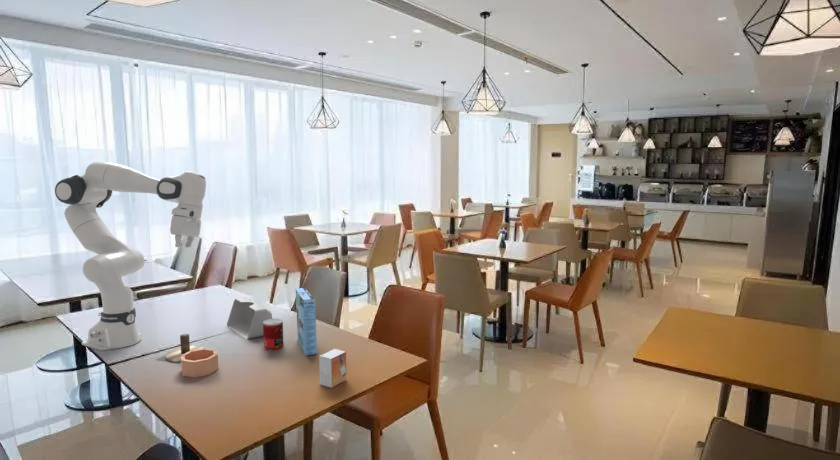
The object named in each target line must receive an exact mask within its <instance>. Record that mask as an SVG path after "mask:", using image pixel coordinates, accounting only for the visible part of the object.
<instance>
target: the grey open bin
mask: <svg viewBox="0 0 840 460" xmlns="http://www.w3.org/2000/svg"><path fill="white" fill-rule="evenodd" d="M268 319H273V313H272V312H271V310H270V309H267V307H265V306H263V305H261V304H259V303H257V302H255V301H253V300H252V299H249V298H247V296H246V297H240V298H235V299H234V300H233V303H232V306H231V309H230V312H229V315H228V318H227V322H226V326H227V328H229V329H230V330H232V331H233V332H234V333H236V334H237V335H238V336H240V337H242V338H243V340H244V339H245V340H251V339H256V338H259V337H263V321H265V320H268Z"/></svg>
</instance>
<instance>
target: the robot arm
mask: <svg viewBox="0 0 840 460" xmlns="http://www.w3.org/2000/svg"><path fill="white" fill-rule="evenodd" d="M206 188H207V180H206V177H205V176H204V175H202V174H199V173H197V172H193V171H189V170H186V171H185V172H183V173H181V174H179V175H175V176H165V177H162V178H161V179H159V178H154V177H151V176H149V175H147V174H145V173H144V172H143V173H142V172H141V171H138V170H136V169H134V168H131V167H129V166H126V165H123V164H119V163H115V162H108V161H107V162H105V161H104V162H103V161H94V162H92V163H90V164H89V165H88V166H86V169H85V172H84V174H83V175H79V174H75V175H72V176H70V177H66V178H63V179H61V180H59V181H58V182H57V183H56V185H55V188H54V195H55V196H56V199H57V200H58V201H59V202H60V203H63V204H65V205H68V206H67V207H66V208H65V210H64V212H63V215H64V217H65V220H66V223H67V224H68V227H69V228H70V229H71V231H72V232H73V235H74V236H75V237H76V238H77V240H78V241H79V243H80V244H81V245H82V247H83V248H84V249H85V250H87V251H89V252H91V253H95V254H97V255H94V256H93V257H91V258H90V257H89V259H87V260H85V262H84V263H83V265H82V274H83V275H84V277H85V279H86V280H88V281H89V282H91V283H93V284H94V285H95V286H96V287H97V289H98V291H99V293H100V296H101V304H102V312H98V313H97V315H98V317H99V316H100V319H99V321H97V323H95V324H94V325H93V326H92V327H90V328H89V330H88V334H87V335H88V336H87V337H88V338H86V339H84V340H83V341H82V342H81V345H82V346H85V347H88V348H91V349H95V350H98V351H101V352H102V351H109V350H114V349H120V348H125V347H127V348H128V347H129V346H133V345H135V344H137V343H139V342H140V341H141V340H142V338H141V332H140V331H139V325H138V320H137V318H136V317H137V314H136V313H137V311H136V307H135V304H134V292H133V290H132V289H131V288H130V287H129V286H126V285H125V284H124V282H123V279H122V278H123V277H126V276H129V275H132V274H134V273H137V272H139V271H140V270H141V269H143V267H144V265H145V256H144V255H143V253H142V252H141V251H140V250H138V249H135V248H133V247H130V246H128V245H126V243H123V242H122V241H121V240H120V239H118V238H117V237H116V236H115V235H114V234H113V233H112V231H111V230H110V229H109V228H108V226H107V225H106V224H105V223H104V221H103V219H102V218H101V217H100V215H99V214H98V212H97V208H98V209H99V208H102V207H103V206H104V205H105V203H106V202H108V201H109V200H110V199H111V197H112V196H113V192H119V193H138V194H139V193H140V194H141V193H142V194H144V193H145V194H153V195H157V196H158V198H160V199H162V200H163V201H166V202H170V203H171V202H172V203H175V204H177V206H176V207H174V208H172V210H171V215H172V217H171V220H170V228H169V230H170V234H171V235H174V240H175V243H174V244H175V245H174V246H175V248H182V245H183V243H182V239H183V236H184V237H187V238H186V239H187V240H186V242H185V246H184V247H185V248H189V249H190V248H191V247H192V243H193V242H194V239H195V237H196V238H197V237H199V236H200V234H201V225H202V223H201V222H202V221H201V217H202V212H203V207H204V206H203V202H204V201H203V200H204V199H205V196H206Z"/></svg>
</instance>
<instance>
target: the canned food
mask: <svg viewBox="0 0 840 460" xmlns="http://www.w3.org/2000/svg"><path fill="white" fill-rule="evenodd" d="M283 323H284V322H283V319H280V318H272V319H268V320H265V321H263V336H262V338H263V347H264V349H265V350H266V351H267V350H268V351H277V350H280V349H282V348H283V347H284V324H283Z"/></svg>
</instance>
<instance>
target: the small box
mask: <svg viewBox="0 0 840 460" xmlns="http://www.w3.org/2000/svg"><path fill="white" fill-rule="evenodd" d="M318 358H319V362H318V363H319V385H321V386H324V387H327V388H332V389H333V388H334V387H335V386H337V385H340V384H341V383H343V382H345V381H346V380H347V352H346V351H344V350H340V349H338V348H333V349H332V350H329V351H328V352H325V353H322V354H320V355H319V357H318Z"/></svg>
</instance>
